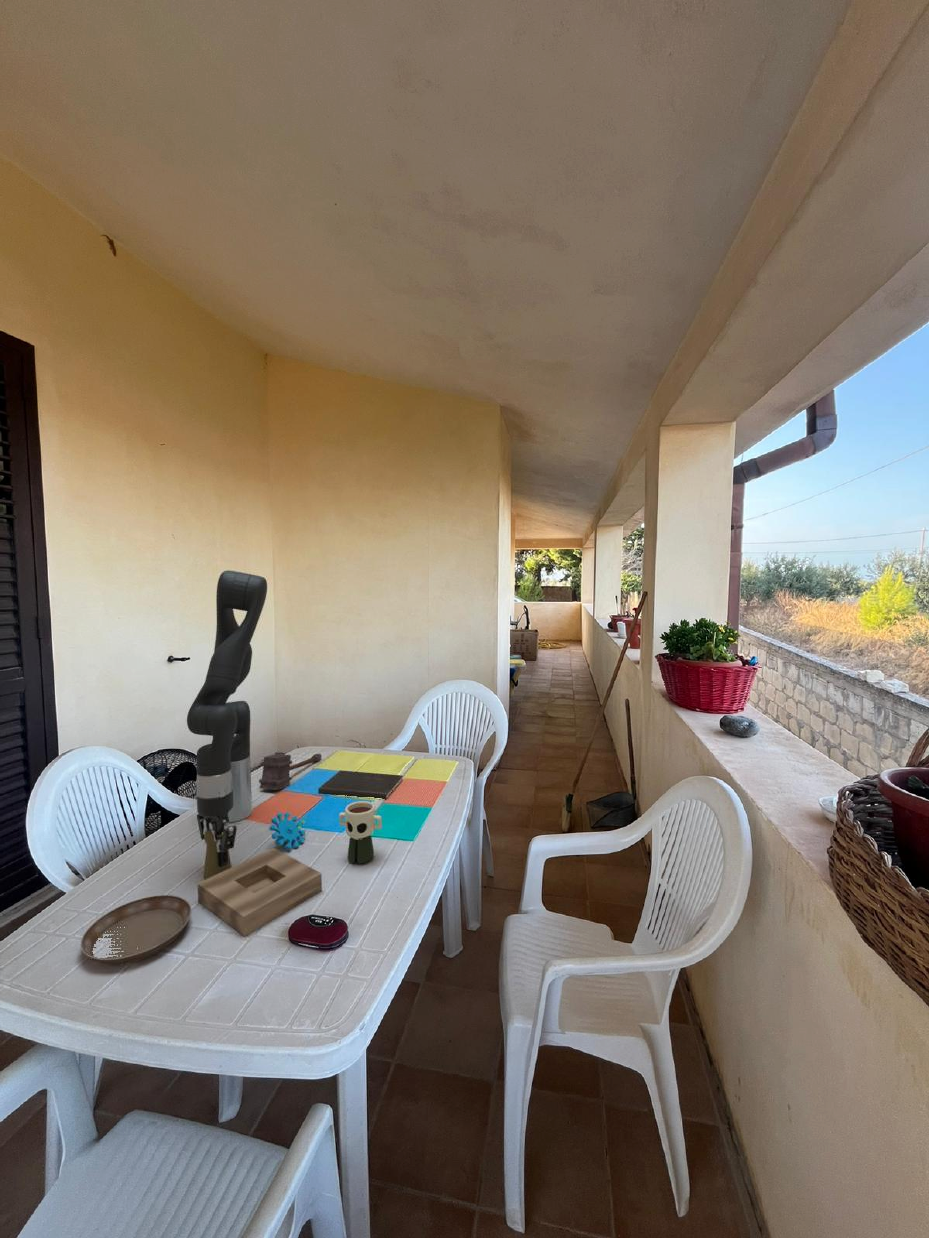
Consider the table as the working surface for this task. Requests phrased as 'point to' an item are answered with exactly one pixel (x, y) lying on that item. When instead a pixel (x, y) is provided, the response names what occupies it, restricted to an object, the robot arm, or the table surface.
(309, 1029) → the table surface
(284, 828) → the gear
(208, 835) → the olive knobbed peg
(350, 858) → the character mug
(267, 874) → the socket block
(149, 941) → the plant saucer
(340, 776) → the hardcover book
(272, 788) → the hammer
